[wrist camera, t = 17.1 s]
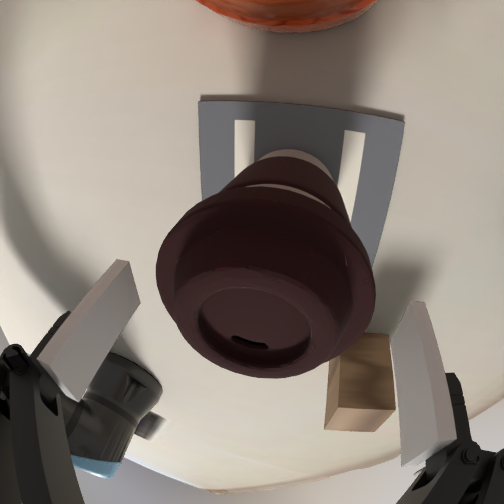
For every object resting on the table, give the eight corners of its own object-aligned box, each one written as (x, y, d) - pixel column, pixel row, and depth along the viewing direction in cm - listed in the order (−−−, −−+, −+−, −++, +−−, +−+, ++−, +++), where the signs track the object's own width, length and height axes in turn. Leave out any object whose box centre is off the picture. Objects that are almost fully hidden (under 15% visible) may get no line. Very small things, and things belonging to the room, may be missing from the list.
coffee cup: (292, 105, 19) (246, 153, 7) (374, 199, 22) (420, 349, 10) (208, 185, 25) (106, 306, 13) (286, 261, 27) (254, 409, 15)
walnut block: (329, 359, 35) (323, 429, 27) (340, 330, 32) (337, 407, 24) (372, 363, 34) (374, 431, 26) (388, 334, 31) (395, 409, 23)
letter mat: (206, 246, 29) (205, 249, 29) (200, 101, 21) (198, 101, 21) (370, 269, 26) (370, 272, 26) (403, 121, 18) (404, 122, 18)
